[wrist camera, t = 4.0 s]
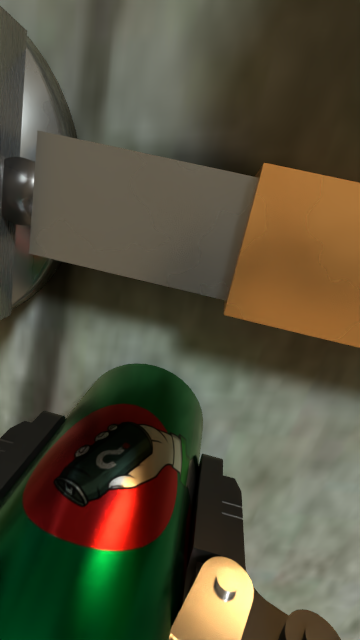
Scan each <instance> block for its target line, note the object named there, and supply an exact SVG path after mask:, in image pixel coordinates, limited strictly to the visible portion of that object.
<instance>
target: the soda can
mask: <svg viewBox="0 0 360 640" xmlns="http://www.w3.org/2000/svg"><path fill="white" fill-rule="evenodd" d="M202 431H203V416H202V410H201V407H200V404H199V402H198V400H197V398H196V396H195V394H194V393H193V392H192V390H191V389H190V388H189V386H188V385H187V384H186V383H184V382H183V381H182V380H181V379H180V378H179V377H177V376H176V375H174V374H173V373H171V372H169V371H167V370H165V369H162V368H160V367H157V366H153V365H148V364H127V365H123V366H119V367H116V368H114V369H112V370H109V371H108V372H106V373H105V374H103V375H102V376H101V377H100V378H99V379H98V380H97V381H96V382H95V383H94V384H93V386H92V387H91V388H90V389H89V391H88V392H87V393H86V394H85V396H84V397H83V398H82V399H81V401H80V402H79V403H78V404H77V406H76V407H75V408H74V409H73V411H72V412H71V413H70V414H69V416H68V417H67V418H66V419H65V421H64V422H63V423H62V424H61V426H60V427H59V428H58V429H57V430H56V432H55V433H54V434H53V435H52V437H51V438H50V439H49V440H48V442H47V443H46V444H45V445H44V447H43V448H42V449H41V450H40V452H39V453H38V454H37V455H36V457H35V458H34V459H33V460H32V462H31V463H30V464H29V465H28V467H27V468H26V469H25V470H24V472H23V473H22V474H21V475H20V477H19V478H18V479H17V480H16V482H15V483H14V484H13V485H12V487H11V488H10V489H9V490H8V492H7V493H6V494H5V495H4V497H3V498H2V499H1V500H0V640H169V637H170V631H171V628H172V626H173V624H174V622H175V620H176V618H177V616H178V614H179V612H180V610H181V608H182V606H183V599H184V590H185V581H186V572H187V563H188V554H189V546H190V537H191V528H192V519H193V510H194V502H195V493H196V484H197V475H198V466H199V457H200V449H201V440H202Z"/></svg>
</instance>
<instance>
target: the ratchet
mask: <svg viewBox="0 0 360 640" xmlns="http://www.w3.org/2000/svg"><path fill="white" fill-rule="evenodd" d="M61 262H67V263H71V264H75V265H79V266H83V267H88V268H92V269H96V270H100V271H104V272H108V273H113V274H117V275H121V276H125V277H129V278H134V279H138V280H142V281H146V282H150V283H155V284H159V285H163V286H167V287H171V288H176V289H180V290H184V291H188V292H192V293H196V294H201V295H205V296H209V297H213V298H217V299H222V300H224V315H226V316H230V317H234V318H239V319H243V320H247V321H251V322H255V323H259V324H263V325H268V326H272V327H276V328H280V329H284V330H288V331H292V332H297V333H301V334H305V335H309V336H313V337H317V338H321V339H326V340H330V341H334V342H338V343H342V344H346V345H350V346H355V347H359V348H360V183H358V182H354V181H349V180H344V179H339V178H335V177H330V176H325V175H320V174H316V173H311V172H306V171H301V170H297V169H292V168H287V167H282V166H278V165H273V164H268V163H263V165H262V166H261V168H260V169H259V171H258V172H257V174H256V175H255V177H253V176H249V175H244V174H239V173H235V172H230V171H225V170H221V169H216V168H211V167H207V166H202V165H197V164H192V163H188V162H183V161H178V160H174V159H169V158H164V157H160V156H155V155H150V154H146V153H141V152H136V151H132V150H127V149H122V148H118V147H113V146H108V145H104V144H99V143H94V142H90V141H85V140H80V139H77V135H76V130H75V127H74V123H73V120H72V117H71V113H70V110H69V107H68V105H67V102H66V100H65V97H64V95H63V93H62V90H61V88H60V86H59V83H58V81H57V80H56V78H55V76H54V74H53V73H52V71H51V69H50V67H49V65H48V64H47V62H46V60H45V59H44V57H43V56H42V55H41V53H40V52H39V50H38V49H37V48H36V46H35V45H34V43H33V42H32V41H31V39H30V38H29V37H28V36H27V30H25V29H24V28H23V27H22V26H21V25H20V24H19V23H18V22H17V21H16V20H15V19H14V18H13V17H12V16H11V15H10V14H8V13H7V12H6V11H5V10H4V9H3V8H2V7H1V6H0V320H1V319H3V318H5V317H8V316H10V315H11V309H13V308H15V307H16V306H18V305H20V304H22V303H23V302H25V301H27V300H28V299H30V298H31V297H32V296H33V295H34V294H36V293H37V292H38V291H39V290H40V289H42V287H43V286H44V285H45V284H46V283H47V282H48V281H49V279H50V278H51V277H52V276H53V275H54V273H55V272H56V270H57V269H58V267H59V266H60V264H61Z"/></svg>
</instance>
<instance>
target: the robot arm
mask: <svg viewBox="0 0 360 640" xmlns="http://www.w3.org/2000/svg"><path fill="white" fill-rule="evenodd" d="M64 421H65V416H62V415H58V414H55V413H51V412H47V411H43V412H42V413H41V414H40V415H39V416H38V417H37V418H36V419H35V420H34V421H33V422H32V423H30V422H27V421H24V422H22V423H20V424H18V425H16V426H14V427H12V428H10V429H9V430H8V431H7V432H6V433H5V434H4V435H3V436H2V437H1V438H0V500H1V499H2V498H3V497H4V495H5V494H6V493H7V492H8V490H9V489H10V488H11V487H12V485H13V484H14V483H15V482H16V480H17V479H18V478H19V477H20V475H21V474H22V473H23V472H24V470H25V469H26V468H27V467H28V465H29V464H30V463H31V462H32V460H33V459H34V458H35V457H36V455H37V454H38V453H39V452H40V450H41V449H42V448H43V447H44V445H45V444H46V443H47V442H48V440H49V439H50V438H51V437H52V435H53V434H54V433H55V432H56V430H57V429H58V428H59V427H60V426H61V424H62V423H63V422H64ZM242 518H243V514H242V495H241V490H240V488H239V486H238V484H237V482H236V480H235V479H234V478H230V477H227V476H223V459H220V458H216V457H213V456H209V455H205V454H202V456H201V459H200V462H199V466H198V475H197V484H196V493H195V502H194V510H193V519H192V528H191V537H190V546H189V554H188V563H187V572H186V581H185V590H184V599H183V606H182V608H181V610H180V612H179V614H178V616H177V618H176V620H175V622H174V624H173V626H172V628H171V631H170V637H169V640H341V639H340V637H339V636H338V634H337V633H336V631H335V630H334V629H333V627H332V626H331V625H330V624H329V623H328V622H327V621H326V620H324V619H323V618H322V617H321V616H319V615H318V614H316V613H314V612H311V611H308V610H303V609H302V610H296V611H294V612H292V613H291V614H290V615H289V616H288V615H287V614H285V613H284V612H282V611H281V610H279V609H278V608H276V607H275V606H273V605H272V604H270V603H269V602H268V601H266V600H265V599H264V598H263V597H262V596H261V595H260V594H259V593H258V592H257V591H256V590H255V588H254V587H253V585H252V582H251V580H250V578H249V576H248V574H247V572H246V567H245V552H244V533H243V520H242Z"/></svg>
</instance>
